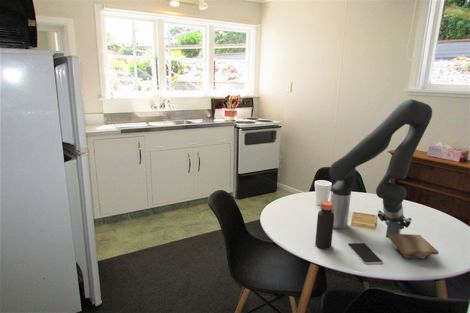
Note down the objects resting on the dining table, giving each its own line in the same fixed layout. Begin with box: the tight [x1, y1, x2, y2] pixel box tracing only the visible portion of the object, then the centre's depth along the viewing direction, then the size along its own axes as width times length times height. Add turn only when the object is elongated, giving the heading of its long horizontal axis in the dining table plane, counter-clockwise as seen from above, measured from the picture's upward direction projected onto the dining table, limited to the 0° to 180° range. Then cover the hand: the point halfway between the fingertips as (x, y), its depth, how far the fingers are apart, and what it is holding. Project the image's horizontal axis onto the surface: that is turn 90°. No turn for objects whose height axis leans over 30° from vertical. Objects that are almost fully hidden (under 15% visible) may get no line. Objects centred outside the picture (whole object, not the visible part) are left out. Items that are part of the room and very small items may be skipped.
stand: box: [387, 233, 440, 259], centre depth 130 cm, size 14×14×5 cm
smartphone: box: [347, 242, 383, 265], centre depth 129 cm, size 8×1×15 cm
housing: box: [385, 222, 402, 238], centre depth 143 cm, size 5×5×10 cm
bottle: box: [314, 200, 334, 250], centre depth 133 cm, size 7×7×20 cm
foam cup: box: [314, 179, 333, 207], centre depth 180 cm, size 10×9×13 cm
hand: (395, 225), depth 145 cm, fingers closed on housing, 5 cm apart
